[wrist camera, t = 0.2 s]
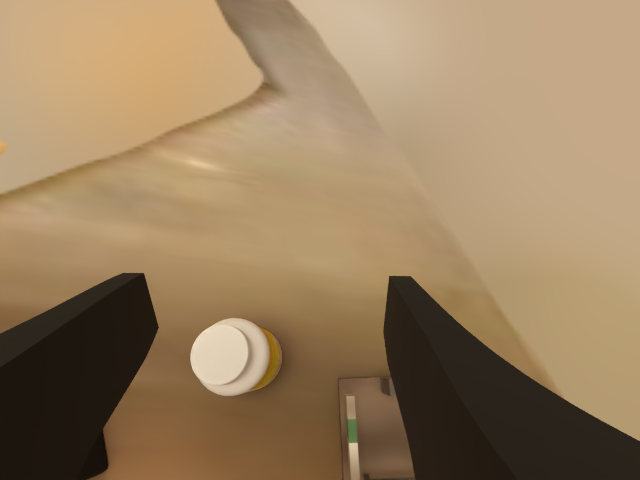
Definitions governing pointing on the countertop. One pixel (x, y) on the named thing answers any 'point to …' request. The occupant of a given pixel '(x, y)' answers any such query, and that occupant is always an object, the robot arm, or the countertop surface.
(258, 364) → the supplement bottle
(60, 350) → the robot arm
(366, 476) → the silver cylinder with block
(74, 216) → the countertop surface
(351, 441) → the base
